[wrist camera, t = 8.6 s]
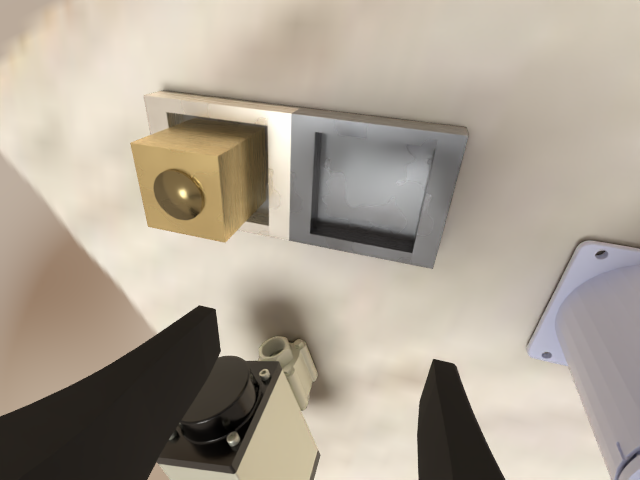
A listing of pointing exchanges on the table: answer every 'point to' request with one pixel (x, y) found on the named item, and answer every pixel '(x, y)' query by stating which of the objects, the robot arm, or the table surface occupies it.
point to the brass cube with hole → (201, 177)
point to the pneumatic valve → (248, 420)
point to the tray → (340, 174)
